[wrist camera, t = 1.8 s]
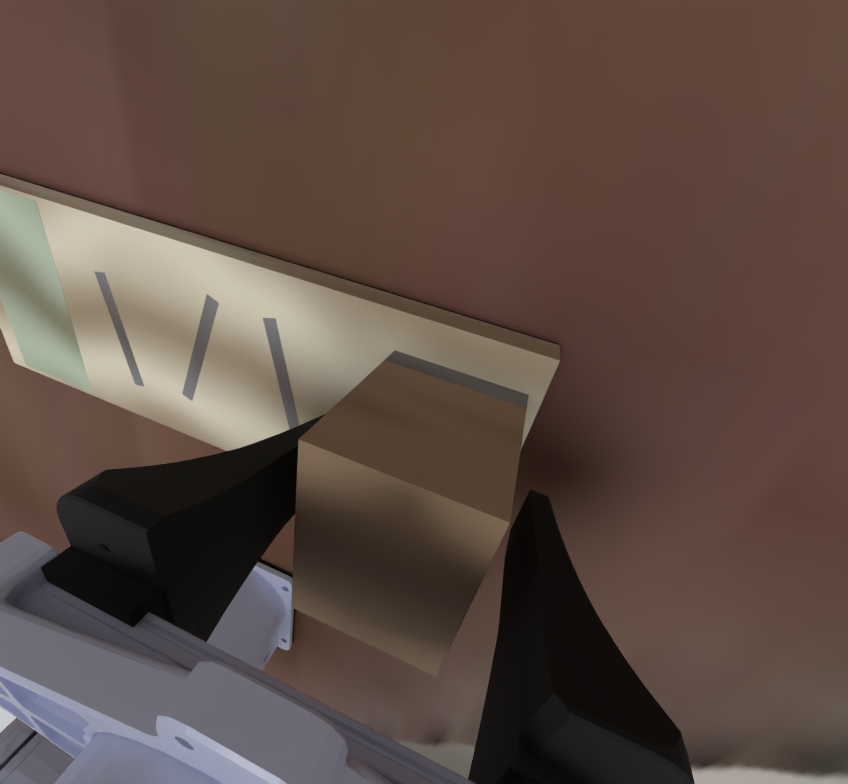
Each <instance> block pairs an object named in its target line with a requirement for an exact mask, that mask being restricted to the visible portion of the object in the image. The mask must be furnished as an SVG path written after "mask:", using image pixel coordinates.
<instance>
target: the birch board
mask: <svg viewBox="0 0 848 784" xmlns="http://www.w3.org/2000/svg"><path fill="white" fill-rule="evenodd" d="M0 328H1V330H2V333H3V335H4V338H5V340H6V343H7V345H8V348H9V351H10V353H11V356H12V358H13V361H14V363H16V364H19V365H21V366H23V367H26V368H28V369H31V370H33V371H35V372H38V373H40V374H43V375H45V376H47V377H50V378H52V379H55V380H57V381H59V382H62V383H64V384H67V385H69V386H71V387H74V388H76V389H79V390H81V391H83V392H86V393H88V394H91V395H93V396H96V397H98V398H100V399H103V400H105V401H108V402H110V403H112V404H115V405H117V406H120V407H122V408H124V409H127V410H129V411H132V412H134V413H136V414H139V415H141V416H144V417H146V418H148V419H151V420H153V421H156V422H158V423H161V424H163V425H165V426H168V427H170V428H173V429H175V430H177V431H180V432H182V433H185V434H187V435H189V436H192V437H194V438H197V439H199V440H201V441H204V442H206V443H209V444H211V445H213V446H216V447H218V448H221V449H223V450H225V451H230V450H234V449H237V448H241V447H244V446H247V445H250V444H253V443H256V442H258V441H261V440H264V439H266V438H269V437H272V436H275V435H277V434H280V433H282V432H285V431H287V430H289V429H292V428H294V427H297V426H299V425H301V424H303V423H306V422H308V421H310V420H313V419H315V418H317V417H319V416H322V415H324V414H327V413H328V412H329V411H330V410H331V409H332V408H333V407H334V406H335V405H336V404H337V403H338V402H339V401H341V400H342V399H343V398H344V397H345V396H346V395H347V394H348V393H349V392H350V391H351V390H352V389H354V388H355V387H356V386H357V385H358V384H359V383H360V382H361V381H362V380H363V379H364V378H365V377H367V376H368V375H369V374H370V373H371V372H372V371H373V370H374V369H375V368H376V367H377V366H378V365H379V364H381V363H382V362H383V361H384V360H385V359H386V358H387V357H388V356H389V355H390V354H391V353H392V352H394V351H395V350H396V351H399V352H402V353H405V354H408V355H411V356H414V357H417V358H420V359H423V360H426V361H429V362H432V363H435V364H438V365H441V366H444V367H447V368H450V369H453V370H456V371H459V372H462V373H465V374H468V375H471V376H474V377H477V378H480V379H483V380H486V381H489V382H492V383H495V384H498V385H501V386H504V387H507V388H510V389H513V390H516V391H519V392H522V393H525V394H528V395H529V396H528V403H527V410H526V417H525V424H524V431H523V437H522V444H521V449H522V446H523V444H524V442H525V440H526V437H527V435H528V433H529V430H530V428H531V426H532V424H533V421H534V419H535V417H536V415H537V412H538V410H539V408H540V405H541V403H542V401H543V399H544V396H545V394H546V392H547V389H548V387H549V385H550V383H551V380H552V378H553V376H554V373H555V371H556V369H557V367H558V364H559V362H560V345H557V344H554V343H550V342H547V341H544V340H541V339H537V338H534V337H531V336H528V335H524V334H521V333H518V332H515V331H511V330H508V329H505V328H502V327H498V326H495V325H492V324H488V323H485V322H482V321H479V320H475V319H472V318H469V317H466V316H462V315H459V314H456V313H453V312H449V311H446V310H443V309H440V308H436V307H433V306H430V305H426V304H423V303H420V302H417V301H413V300H410V299H407V298H404V297H400V296H397V295H394V294H391V293H387V292H384V291H381V290H378V289H374V288H371V287H368V286H365V285H361V284H358V283H355V282H351V281H348V280H345V279H342V278H338V277H335V276H332V275H329V274H325V273H322V272H319V271H316V270H312V269H309V268H306V267H303V266H299V265H296V264H293V263H290V262H286V261H283V260H280V259H276V258H273V257H270V256H267V255H263V254H260V253H257V252H254V251H250V250H247V249H244V248H241V247H237V246H234V245H231V244H228V243H224V242H221V241H218V240H214V239H211V238H208V237H205V236H201V235H198V234H195V233H192V232H188V231H185V230H182V229H179V228H175V227H172V226H169V225H166V224H162V223H159V222H156V221H153V220H149V219H146V218H143V217H139V216H136V215H133V214H130V213H126V212H123V211H120V210H117V209H113V208H110V207H107V206H104V205H100V204H97V203H94V202H91V201H87V200H84V199H81V198H77V197H74V196H71V195H68V194H64V193H61V192H58V191H55V190H51V189H48V188H45V187H42V186H38V185H35V184H32V183H29V182H25V181H22V180H19V179H16V178H12V177H9V176H6V175H2V174H0Z"/></svg>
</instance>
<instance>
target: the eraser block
mask: <svg viewBox="0 0 848 784" xmlns="http://www.w3.org/2000/svg"><path fill="white" fill-rule="evenodd" d="M528 396H529V395H528V394H525V393H522V392H519V391H516V390H513V389H510V388H507V387H504V386H501V385H498V384H495V383H492V382H489V381H486V380H483V379H480V378H477V377H474V376H471V375H468V374H465V373H462V372H459V371H456V370H453V369H450V368H447V367H444V366H441V365H438V364H435V363H432V362H429V361H426V360H423V359H420V358H417V357H414V356H411V355H408V354H405V353H402V352H399V351H396V350H395V351H394V352H392V353H391V354H390V355H389V356H388V357H387V358H386V359H385V360H384V361H383V362H382V363H381V364H379V365H378V366H377V367H376V368H375V369H374V370H373V371H372V372H371V373H370V374H369V375H368V376H367V377H365V378H364V379H363V380H362V381H361V382H360V383H359V384H358V385H357V386H356V387H355V388H354V389H352V390H351V391H350V392H349V393H348V394H347V395H346V396H345V397H344V398H343V399H342V400H341V401H339V402H338V403H337V404H336V405H335V406H334V407H333V408H332V409H331V410H330V411H329V412H328V413H327V414H325V415H324V416H323V417H322V418H321V419H320V420H319V421H318V422H317V423H316V424H315V425H314V426H312V427H311V428H310V429H309V430H308V431H307V432H306V433H305V434H304V435H303V436H302V437H301V438H299V440H298V462H297V485H296V508H295V531H294V554H293V577H292V600H291V607H292V608H294V609H296V610H298V611H300V612H302V613H304V614H306V615H308V616H311V617H313V618H315V619H317V620H319V621H321V622H323V623H325V624H327V625H329V626H331V627H333V628H335V629H338V630H340V631H342V632H344V633H346V634H348V635H350V636H352V637H354V638H356V639H358V640H360V641H362V642H365V643H367V644H369V645H371V646H373V647H375V648H377V649H379V650H381V651H383V652H385V653H387V654H389V655H392V656H394V657H396V658H398V659H400V660H402V661H404V662H406V663H408V664H410V665H412V666H414V667H417V668H419V669H421V670H423V671H425V672H427V673H429V674H431V675H433V676H435V677H436V676H437V673H438V671H439V669H440V667H441V665H442V663H443V661H444V659H445V657H446V655H447V653H448V651H449V649H450V647H451V644H452V642H453V640H454V638H455V636H456V634H457V632H458V630H459V628H460V626H461V624H462V622H463V620H464V617H465V615H466V613H467V611H468V609H469V607H470V605H471V603H472V601H473V599H474V597H475V595H476V593H477V590H478V588H479V586H480V584H481V582H482V580H483V578H484V576H485V574H486V572H487V570H488V568H489V566H490V563H491V561H492V559H493V557H494V555H495V553H496V551H497V549H498V547H499V545H500V543H501V541H502V539H503V536H504V534H505V532H506V530H507V528H508V526H509V524H510V520H511V513H512V506H513V499H514V492H515V485H516V479H517V472H518V465H519V458H520V451H521V444H522V437H523V431H524V424H525V417H526V410H527V403H528Z"/></svg>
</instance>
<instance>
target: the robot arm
mask: <svg viewBox="0 0 848 784" xmlns="http://www.w3.org/2000/svg"><path fill="white" fill-rule="evenodd" d="M324 415H325V414H324ZM324 415H322V416H319V417H317V418H315V419H313V420H310V421H308V422H306V423H303V424H301V425H299V426H297V427H294V428H292V429H289V430H287V431H285V432H282V433H280V434H277V435H275V436H272V437H269V438H266V439H264V440H261V441H258V442H256V443H253V444H250V445H247V446H244V447H241V448H237V449H234V450H230V451H226V452H223V453H219V454H215V455H210V456H206V457H201V458H196V459H192V460H187V461H181V462H175V463H169V464H161V465H154V466H146V467H135V468H123V469H111V470H105V471H103V472H101V473H100V474H98V475H96V476H95V477H93V478H91V479H90V480H88V481H86V482H85V483H83V484H81V485H80V486H78V487H76V488H75V489H73V490H71V491H70V492H68V493H66V494H65V495H63V496H61V497H60V499H59V500H58V502H57V513H58V517H59V519H60V522H61V524H62V526H63V528H64V531H65V533H66V535H67V538H68V540H69V542H70V544H71V546H70V547H69V548H68V549H66V550H65V551H63V552H62V553H61V554H59V553H58V552H57V551H56V550H55V549H54V548H53V547H51V546H50V545H48V544H46V543H44V542H42V541H40V540H38V539H36V538H34V537H32V536H30V535H29V534H27V533H25V532H17V533H16V534H14V535H12V536H11V537H9V538H8V539H6V540H4V541H3V542H1V543H0V706H1V707H2V708H4V709H5V710H6V711H8V712H9V713H11V714H12V715H14V716H15V717H17V718H16V719H15V720H14V721H13V722H11V724H9V725H8V726H7V727H6V728H5V729H4V730H3V731H2V732H1V733H0V784H694V779H693V775H692V770H691V766H690V762H689V758H688V754H687V751H686V748H685V745H684V741H683V738H682V735H681V732H680V730H679V729H678V728H677V727H676V725H675V724H674V723H673V722H672V720H671V719H670V718H669V717H668V715H667V714H666V713H665V711H664V710H663V709H662V708H661V706H660V705H659V704H658V703H657V701H656V700H655V699H654V698H653V696H652V695H651V694H650V693H649V691H648V690H647V689H646V687H645V686H644V685H643V683H642V682H641V680H640V679H639V678H638V676H637V675H636V673H635V672H634V671H633V669H632V668H631V667H630V665H629V664H628V662H627V661H626V659H625V658H624V656H623V655H622V653H621V652H620V650H619V649H618V647H617V646H616V644H615V643H614V641H613V639H612V638H611V636H610V635H609V633H608V632H607V630H606V628H605V627H604V625H603V624H602V622H601V620H600V618H599V617H598V615H597V613H596V612H595V610H594V608H593V606H592V604H591V602H590V600H589V598H588V597H587V595H586V593H585V591H584V589H583V586H582V584H581V582H580V580H579V578H578V576H577V574H576V571H575V569H574V567H573V565H572V562H571V560H570V557H569V555H568V552H567V550H566V547H565V545H564V542H563V539H562V537H561V534H560V531H559V528H558V525H557V522H556V519H555V516H554V513H553V510H552V506H551V503H550V500H549V498H548V496H545V495H542V494H540V493H537V492H534V491H532V490H530V491H529V493H528V496H527V498H526V500H525V502H524V504H523V506H522V508H521V510H520V512H519V514H518V516H517V518H516V520H515V522H514V524H513V526H512V528H511V531H510V536H509V541H508V545H507V550H506V555H505V564H504V575H503V586H502V598H501V610H500V621H499V629H498V636H497V642H496V647H495V653H494V658H493V663H492V669H491V674H490V679H489V684H488V689H487V694H486V699H485V704H484V709H483V714H482V718H481V723H480V728H479V733H478V737H477V742H476V746H475V751H474V755H473V760H472V764H471V769H470V773H469V778H468V779H466V778H464V777H462V776H460V775H459V774H457V773H455V772H453V771H451V770H449V769H447V768H445V767H443V766H441V765H440V764H438V763H435V762H434V761H432V760H430V759H428V758H426V757H424V756H422V755H420V754H419V753H416V752H415V751H413V750H411V749H409V748H407V747H405V746H403V745H401V744H400V743H398V742H396V741H394V740H392V739H390V738H388V737H386V736H384V735H382V734H380V733H379V732H377V731H375V730H373V729H371V728H369V727H367V726H365V725H363V724H361V723H360V722H358V721H356V720H354V719H352V718H350V717H348V716H346V715H344V714H342V713H340V712H339V711H337V710H335V709H333V708H331V707H329V706H327V705H325V704H323V703H321V702H319V701H318V700H316V699H314V698H312V697H310V696H308V695H306V694H304V693H302V692H300V691H299V690H297V689H295V688H293V687H291V686H289V685H287V684H285V683H283V682H281V681H279V680H278V679H276V678H274V677H272V676H270V675H268V674H266V673H264V672H262V670H263V669H264V667H265V665H266V664H267V662H268V661H269V659H270V657H271V656H272V654H273V653H274V651H275V649H276V648H277V646H278V647H280V648H282V649H284V650H289V649H290V647H291V646H292V632H293V613H294V608H292V607H291V600H292V577H290V576H288V575H286V574H284V573H282V572H280V571H277V570H275V569H273V568H271V567H269V566H267V565H265V564H262V563H260V562H258V561H259V559H260V558H261V557H262V555H263V554H264V552H265V551H266V549H267V548H268V547H269V545H270V544H271V542H272V541H273V540H274V538H275V537H276V535H277V534H278V533H279V532H280V530H281V529H282V528H283V527H284V525H285V524H286V523H287V522H288V521H289V520H290V519H291V517H292V516H293V515H294V514H295V508H296V485H297V462H298V440H299V438H301V437H302V436H303V435H304V434H305V433H306V432H307V431H308V430H309V429H310V428H311V427H312V426H314V425H315V424H316V423H317V422H318V421H319V420H320V419H321V418H322V417H323V416H324Z"/></svg>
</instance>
